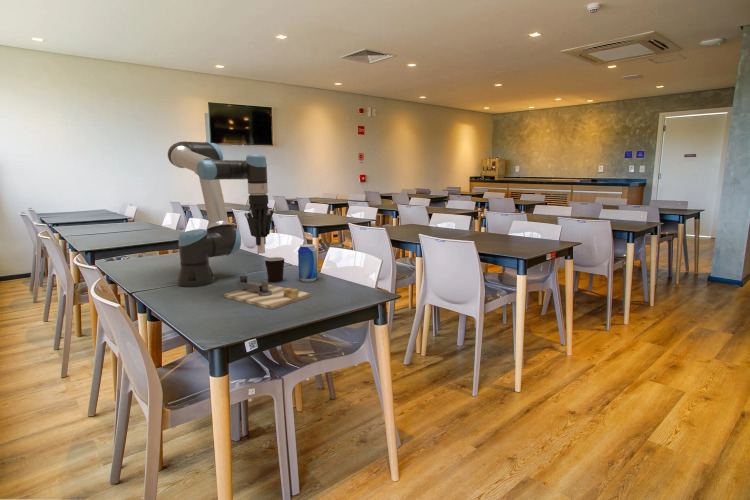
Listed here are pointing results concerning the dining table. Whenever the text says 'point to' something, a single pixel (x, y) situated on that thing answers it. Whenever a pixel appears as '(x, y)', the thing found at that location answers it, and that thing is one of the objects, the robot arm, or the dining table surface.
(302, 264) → the beer can
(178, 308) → the dining table surface
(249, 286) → the swing bar
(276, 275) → the coffee mug
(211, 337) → the dining table surface
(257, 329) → the dining table surface
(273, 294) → the door board
